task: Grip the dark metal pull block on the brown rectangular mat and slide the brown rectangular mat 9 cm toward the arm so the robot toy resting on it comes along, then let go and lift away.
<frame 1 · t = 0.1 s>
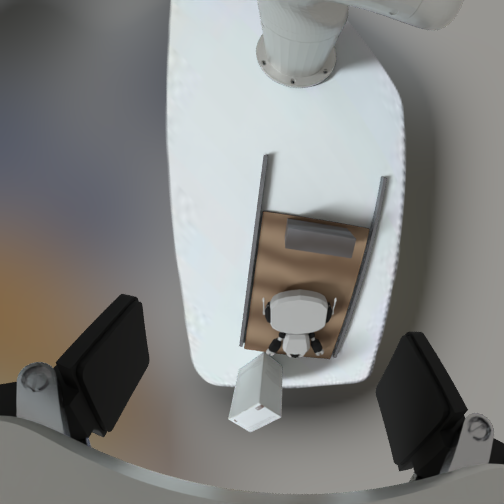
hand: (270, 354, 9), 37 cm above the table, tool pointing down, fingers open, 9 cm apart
robot toy: (296, 318, 50), resting on brown rectangular mat
skincare box: (260, 365, 56), on the table
brown rectangular mat: (303, 304, 46), point 3 cm above the table, slide at 0.0 cm, touching robot toy
guide rails: (307, 269, 47), on the table
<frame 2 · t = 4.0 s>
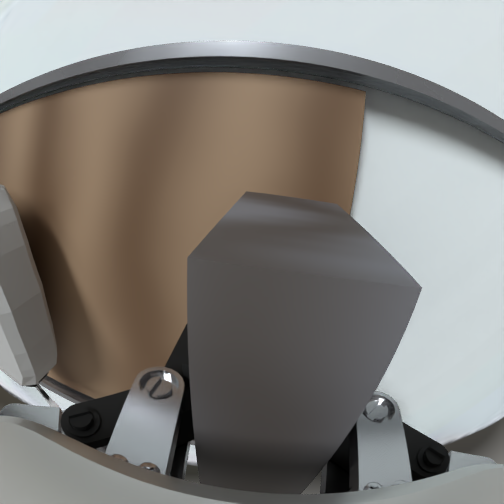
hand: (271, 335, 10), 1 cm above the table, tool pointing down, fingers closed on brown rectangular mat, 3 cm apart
robot toy: (1, 263, 12), resting on brown rectangular mat
brown rectangular mat: (6, 300, 9), point 3 cm above the table, slide at 0.0 cm, touching gripper, robot toy
guide rails: (118, 290, 11), on the table
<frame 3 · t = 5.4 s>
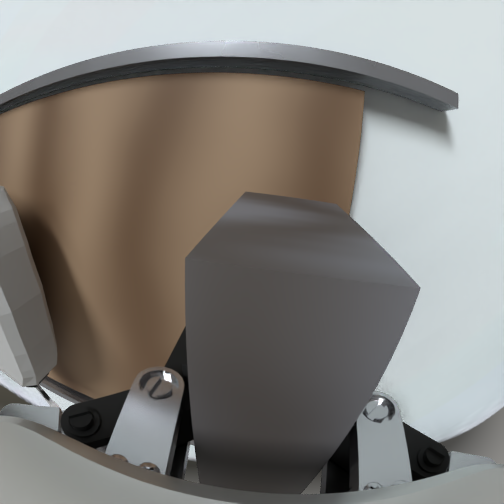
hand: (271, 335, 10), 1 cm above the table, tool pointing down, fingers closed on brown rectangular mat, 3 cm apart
robot toy: (1, 264, 12), resting on brown rectangular mat
brown rectangular mat: (6, 300, 9), point 3 cm above the table, slide at 5.5 cm, touching gripper, robot toy
guide rails: (42, 271, 12), on the table
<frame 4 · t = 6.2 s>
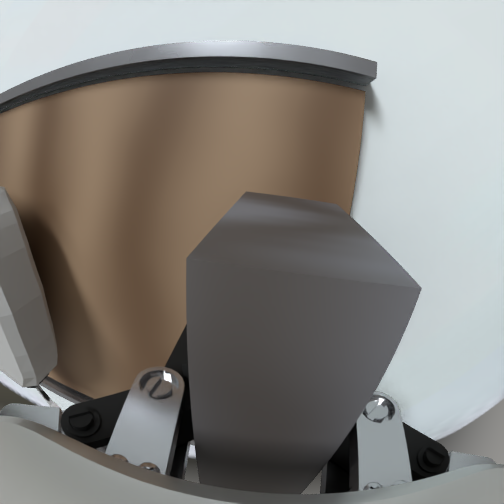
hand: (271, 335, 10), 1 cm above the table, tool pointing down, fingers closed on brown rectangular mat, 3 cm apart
robot toy: (1, 264, 12), resting on brown rectangular mat
brown rectangular mat: (6, 300, 9), point 3 cm above the table, slide at 8.8 cm, touching gripper, robot toy
guide rails: (12, 261, 12), on the table
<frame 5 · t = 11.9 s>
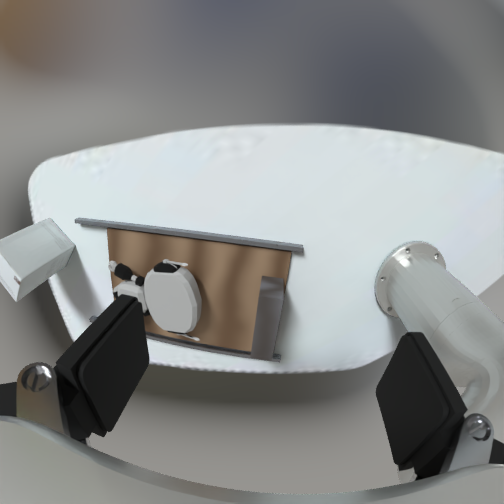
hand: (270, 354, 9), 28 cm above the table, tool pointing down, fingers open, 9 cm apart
robot toy: (160, 289, 41), resting on brown rectangular mat
skincare box: (59, 241, 41), on the table
brown rectangular mat: (183, 304, 38), point 3 cm above the table, slide at 7.6 cm, touching robot toy
guide rails: (174, 290, 41), on the table
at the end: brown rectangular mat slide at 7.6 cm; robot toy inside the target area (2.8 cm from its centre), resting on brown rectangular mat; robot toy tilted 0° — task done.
